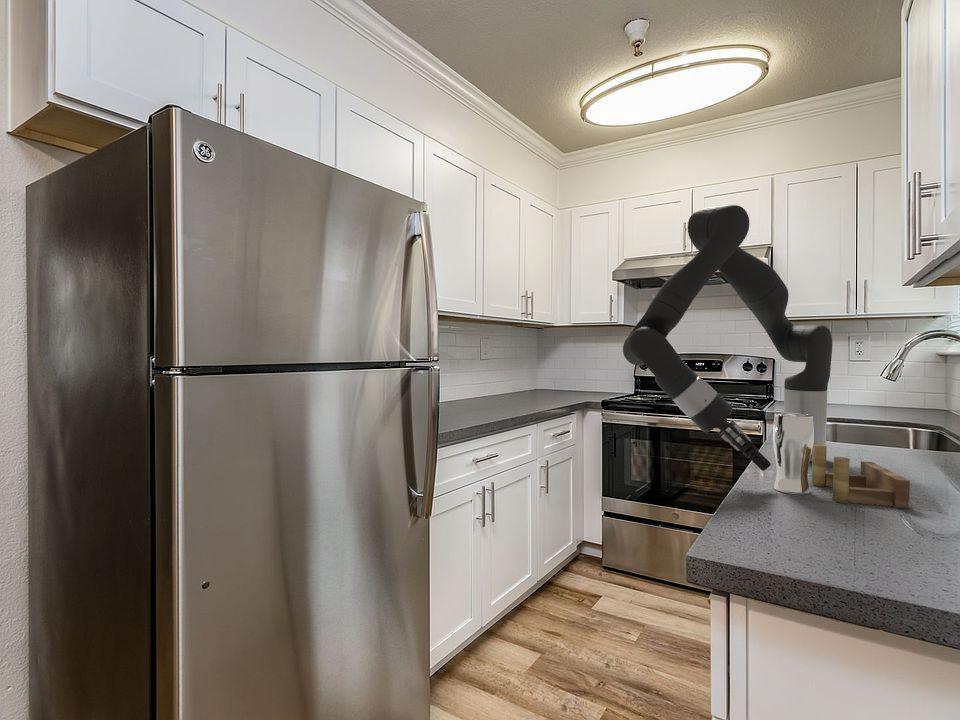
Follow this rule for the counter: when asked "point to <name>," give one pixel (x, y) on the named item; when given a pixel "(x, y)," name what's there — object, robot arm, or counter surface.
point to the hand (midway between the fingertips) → (766, 467)
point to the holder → (860, 481)
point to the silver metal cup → (792, 451)
